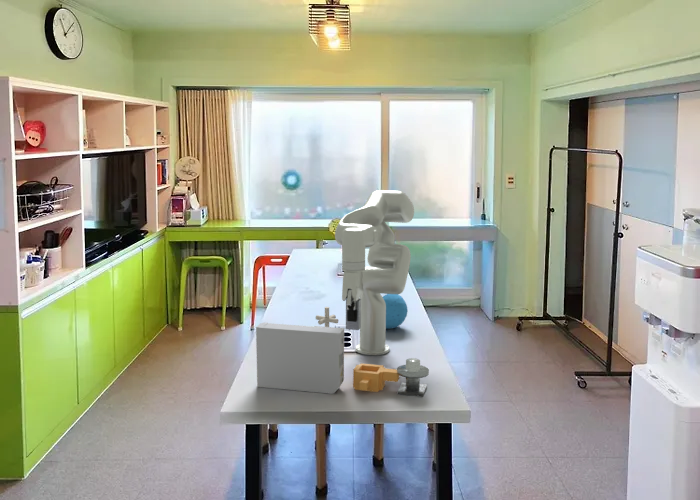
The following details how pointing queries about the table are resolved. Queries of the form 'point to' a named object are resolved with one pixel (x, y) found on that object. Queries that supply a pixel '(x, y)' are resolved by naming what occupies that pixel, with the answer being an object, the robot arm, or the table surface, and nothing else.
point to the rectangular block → (357, 324)
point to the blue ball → (395, 310)
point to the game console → (300, 357)
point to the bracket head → (372, 377)
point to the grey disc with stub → (412, 378)
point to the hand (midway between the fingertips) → (353, 319)
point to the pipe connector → (326, 318)
